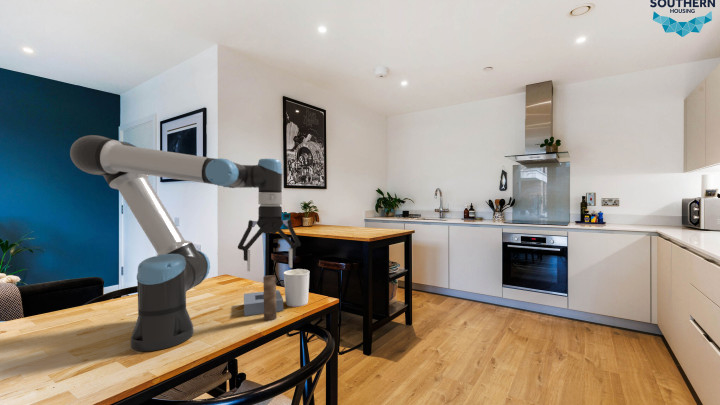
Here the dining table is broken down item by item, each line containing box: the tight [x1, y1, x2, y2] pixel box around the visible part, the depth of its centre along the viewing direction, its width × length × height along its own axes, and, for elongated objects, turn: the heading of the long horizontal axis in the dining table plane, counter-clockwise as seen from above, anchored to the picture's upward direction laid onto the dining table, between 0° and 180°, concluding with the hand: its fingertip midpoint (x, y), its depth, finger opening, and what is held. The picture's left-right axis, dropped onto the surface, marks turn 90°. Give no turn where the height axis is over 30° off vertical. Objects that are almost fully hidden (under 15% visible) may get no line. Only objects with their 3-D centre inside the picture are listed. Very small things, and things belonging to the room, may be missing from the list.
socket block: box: [243, 289, 284, 317], centre depth 115 cm, size 13×13×4 cm
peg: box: [263, 274, 277, 322], centre depth 104 cm, size 4×4×14 cm
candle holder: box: [283, 268, 310, 308], centre depth 119 cm, size 10×10×12 cm
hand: (270, 268), depth 104 cm, fingers open, 13 cm apart
